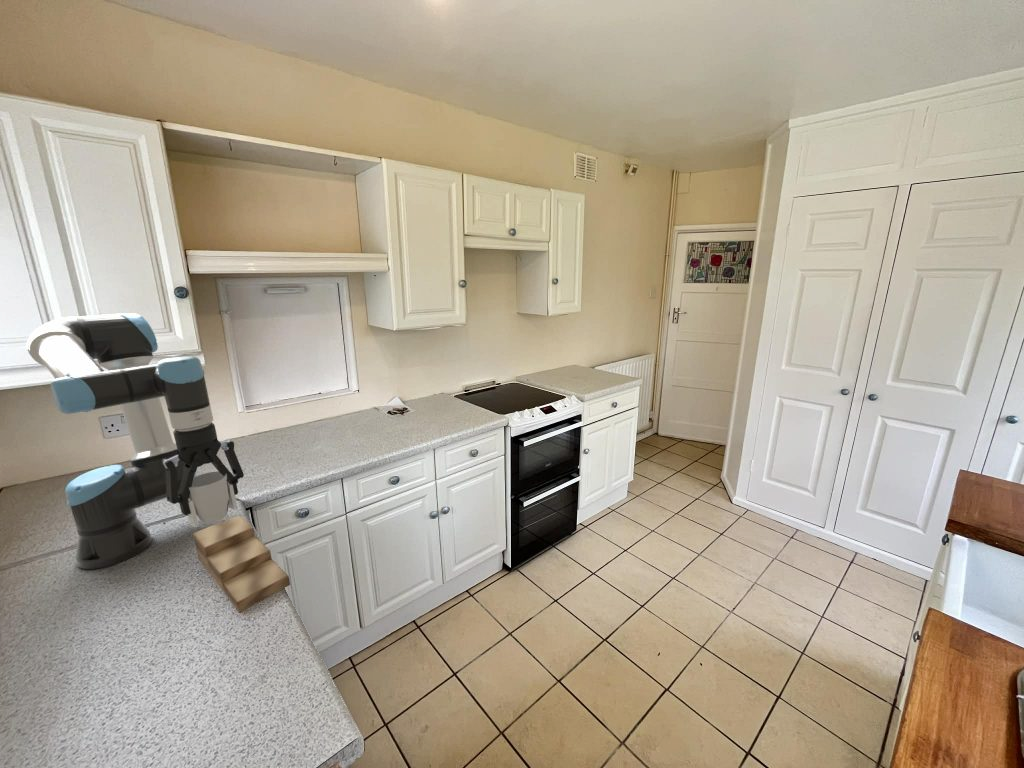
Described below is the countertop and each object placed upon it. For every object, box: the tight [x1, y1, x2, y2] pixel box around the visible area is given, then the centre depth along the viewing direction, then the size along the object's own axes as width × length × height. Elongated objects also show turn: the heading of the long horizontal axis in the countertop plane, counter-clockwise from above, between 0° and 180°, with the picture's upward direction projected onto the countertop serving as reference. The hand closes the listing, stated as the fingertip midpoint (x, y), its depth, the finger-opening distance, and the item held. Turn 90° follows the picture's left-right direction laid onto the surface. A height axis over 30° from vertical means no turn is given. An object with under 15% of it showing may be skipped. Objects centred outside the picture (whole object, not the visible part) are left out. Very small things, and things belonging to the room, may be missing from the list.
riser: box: [192, 514, 291, 613], centre depth 105 cm, size 11×30×8 cm, turn 50°
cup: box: [189, 470, 229, 524], centre depth 98 cm, size 8×8×10 cm
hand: (214, 516), depth 99 cm, fingers closed on cup, 8 cm apart
